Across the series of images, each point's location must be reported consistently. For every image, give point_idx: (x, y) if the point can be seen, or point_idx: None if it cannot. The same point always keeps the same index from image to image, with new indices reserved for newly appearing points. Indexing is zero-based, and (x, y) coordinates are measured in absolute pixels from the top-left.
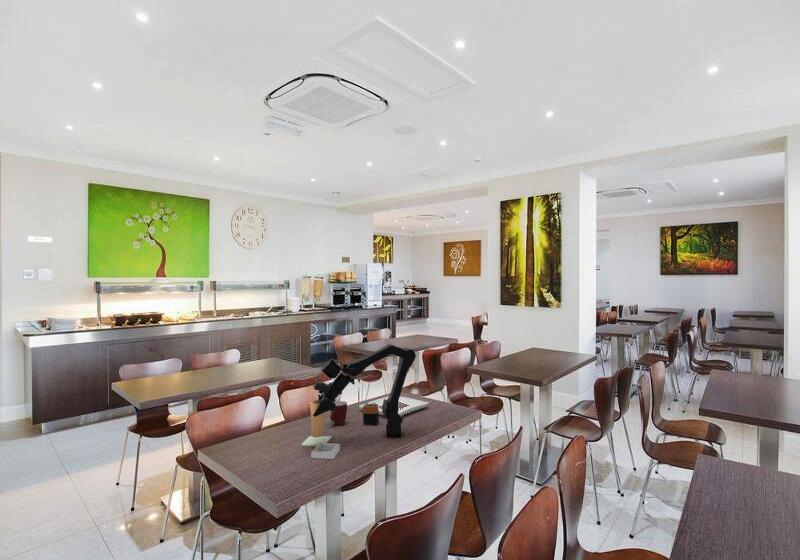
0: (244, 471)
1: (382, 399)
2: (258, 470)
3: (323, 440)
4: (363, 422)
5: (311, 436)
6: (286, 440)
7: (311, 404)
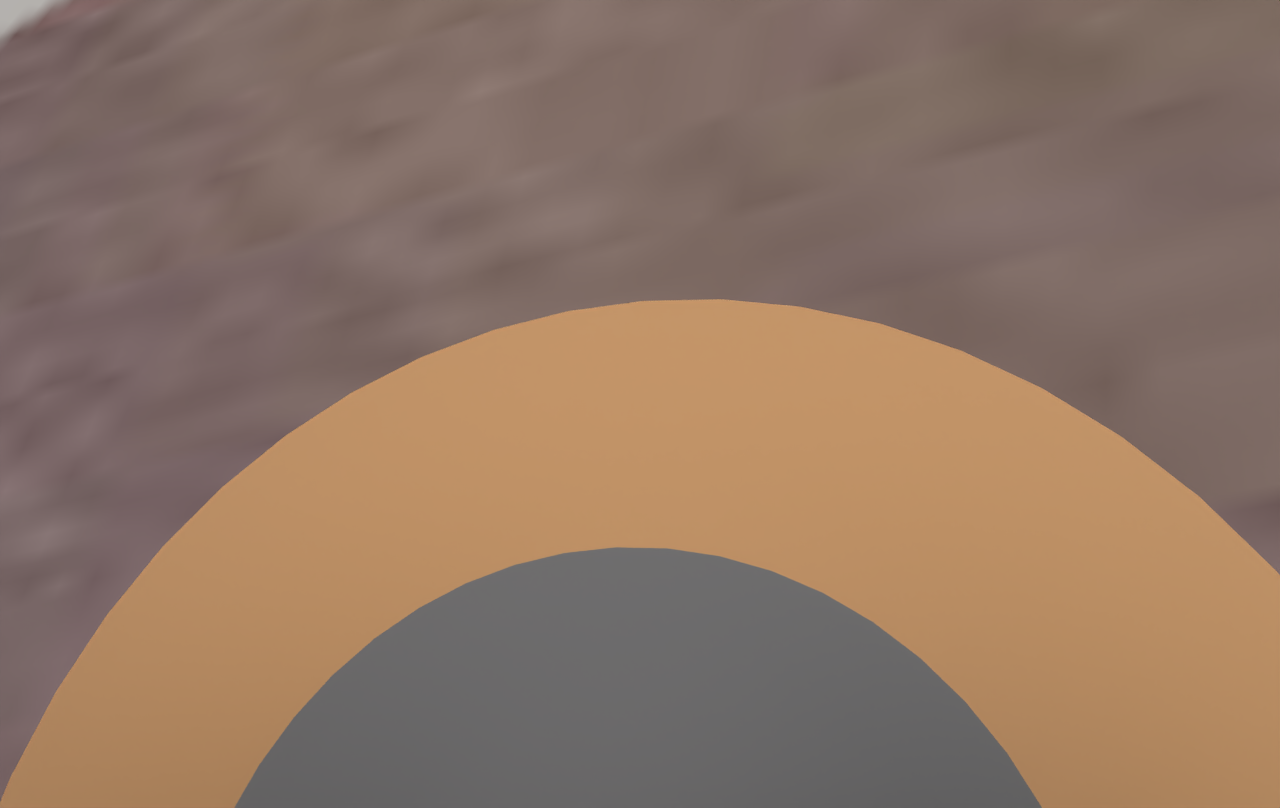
0: (96, 42)
1: None
2: (59, 168)
3: None
4: None
5: None
6: (1089, 217)
7: (277, 501)
